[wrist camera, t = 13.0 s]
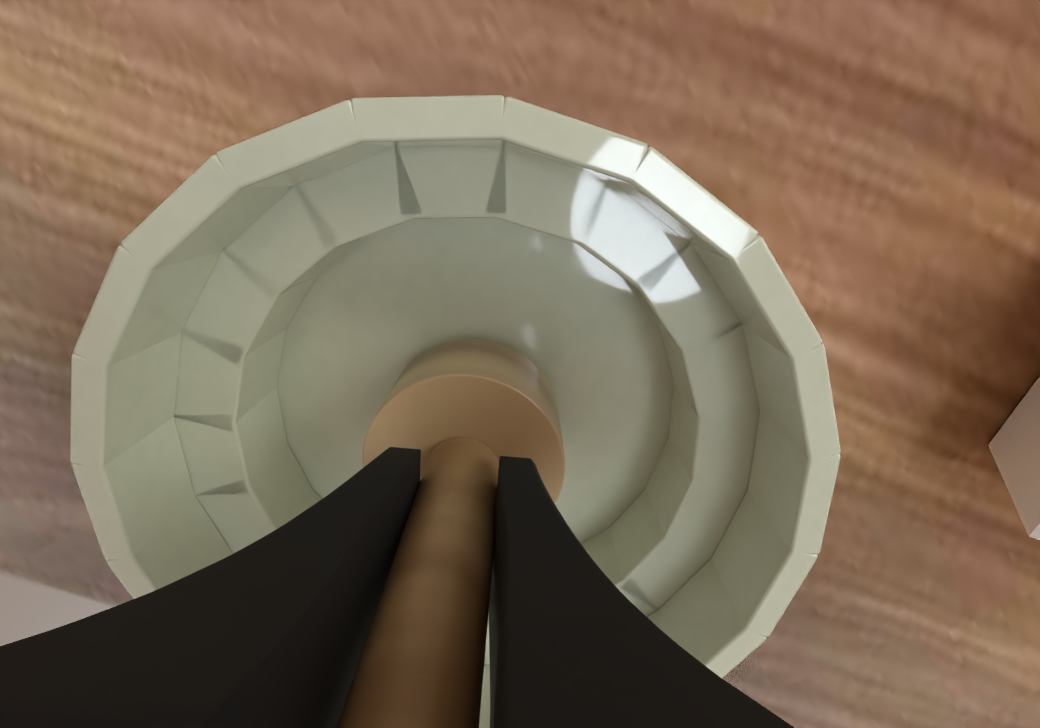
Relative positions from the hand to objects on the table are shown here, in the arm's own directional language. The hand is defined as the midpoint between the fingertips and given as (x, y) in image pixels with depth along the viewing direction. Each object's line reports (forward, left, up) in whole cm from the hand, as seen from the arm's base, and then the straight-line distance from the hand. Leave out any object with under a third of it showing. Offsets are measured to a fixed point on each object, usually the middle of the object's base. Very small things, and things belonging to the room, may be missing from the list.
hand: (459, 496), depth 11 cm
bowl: (0, 0, -4) cm, 4 cm away
